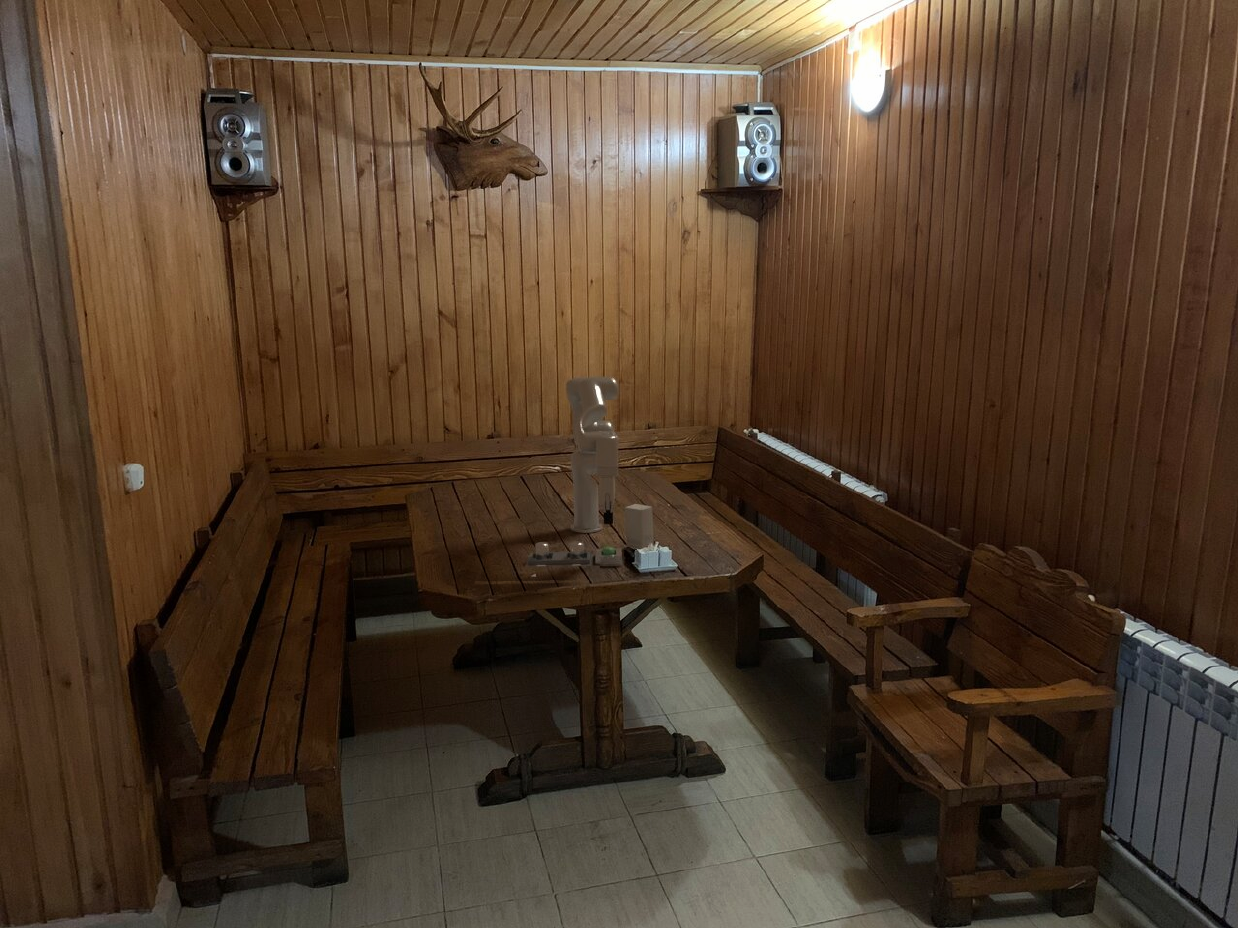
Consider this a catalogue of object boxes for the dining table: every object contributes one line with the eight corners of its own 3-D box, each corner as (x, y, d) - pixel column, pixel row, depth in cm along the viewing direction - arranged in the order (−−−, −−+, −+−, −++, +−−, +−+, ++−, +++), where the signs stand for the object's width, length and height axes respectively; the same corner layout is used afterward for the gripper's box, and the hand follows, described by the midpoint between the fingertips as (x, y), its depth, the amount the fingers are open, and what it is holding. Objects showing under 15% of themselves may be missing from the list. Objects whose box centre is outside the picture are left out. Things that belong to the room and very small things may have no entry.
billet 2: (571, 557, 314) (571, 540, 312) (584, 557, 314) (584, 541, 312) (570, 561, 309) (570, 544, 308) (583, 561, 309) (583, 545, 308)
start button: (603, 554, 313) (602, 546, 313) (614, 554, 313) (614, 546, 313) (602, 558, 309) (602, 550, 309) (614, 558, 309) (614, 549, 309)
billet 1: (536, 558, 314) (535, 542, 312) (549, 558, 314) (548, 541, 312) (535, 562, 309) (534, 545, 308) (548, 562, 309) (547, 545, 308)
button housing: (596, 558, 316) (596, 548, 315) (621, 557, 316) (621, 548, 315) (595, 566, 307) (595, 556, 306) (621, 566, 307) (621, 556, 306)
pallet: (528, 557, 318) (528, 550, 317) (593, 556, 318) (593, 549, 317) (524, 569, 305) (524, 562, 305) (592, 568, 305) (592, 561, 305)
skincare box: (654, 547, 327) (653, 506, 324) (642, 552, 322) (641, 510, 319) (636, 543, 332) (636, 502, 329) (624, 547, 328) (624, 506, 324)
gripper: (596, 467, 312) (597, 518, 316) (595, 475, 297) (597, 529, 301) (618, 466, 312) (619, 517, 316) (618, 475, 297) (619, 529, 301)
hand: (608, 523), depth 308 cm, fingers closed
